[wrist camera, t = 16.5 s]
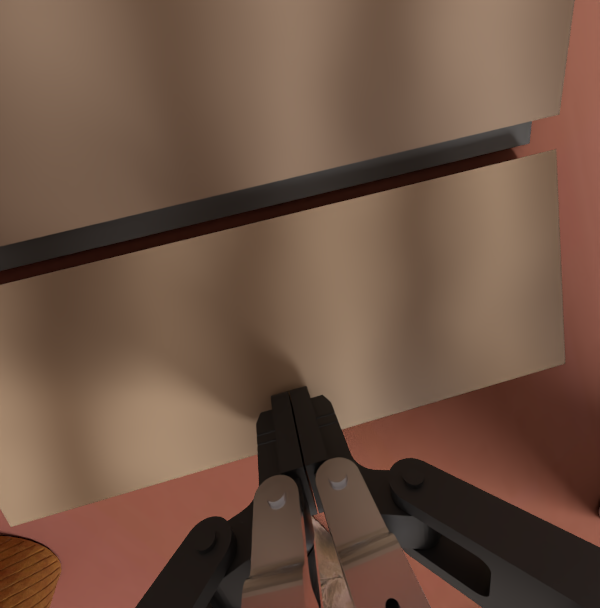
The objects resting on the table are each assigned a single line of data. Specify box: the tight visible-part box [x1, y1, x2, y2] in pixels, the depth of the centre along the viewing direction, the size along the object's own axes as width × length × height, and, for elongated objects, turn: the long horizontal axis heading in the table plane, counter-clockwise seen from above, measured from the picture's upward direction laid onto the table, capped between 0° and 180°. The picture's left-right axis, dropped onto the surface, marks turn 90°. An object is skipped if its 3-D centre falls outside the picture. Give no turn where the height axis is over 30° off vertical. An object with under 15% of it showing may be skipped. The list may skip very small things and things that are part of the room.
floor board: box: [0, 0, 575, 271], centre depth 10 cm, size 24×10×2 cm, turn 102°
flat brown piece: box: [311, 516, 353, 608], centre depth 25 cm, size 26×11×1 cm, turn 4°
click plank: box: [0, 149, 565, 527], centre depth 13 cm, size 24×9×2 cm, turn 102°
